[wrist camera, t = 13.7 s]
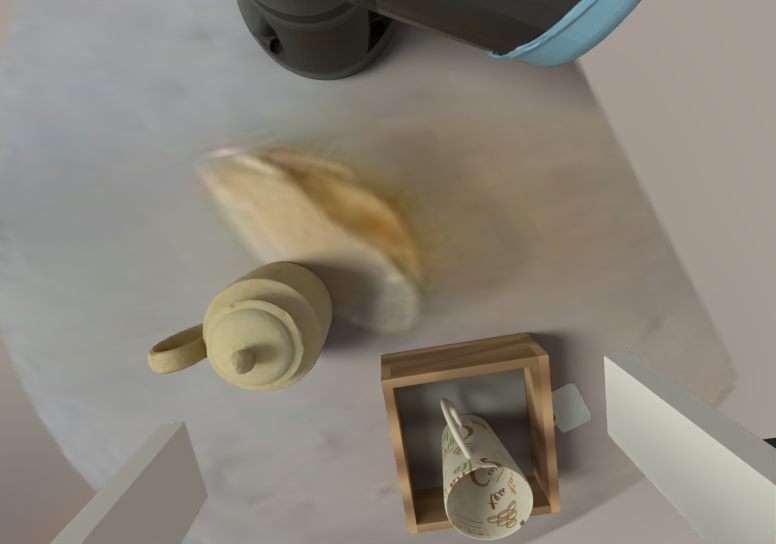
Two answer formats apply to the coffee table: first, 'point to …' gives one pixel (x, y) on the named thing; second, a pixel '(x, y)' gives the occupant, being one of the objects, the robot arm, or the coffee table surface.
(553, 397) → the mounting bracket
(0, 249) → the coffee table surface
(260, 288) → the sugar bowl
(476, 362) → the open wooden crate
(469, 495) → the mug
